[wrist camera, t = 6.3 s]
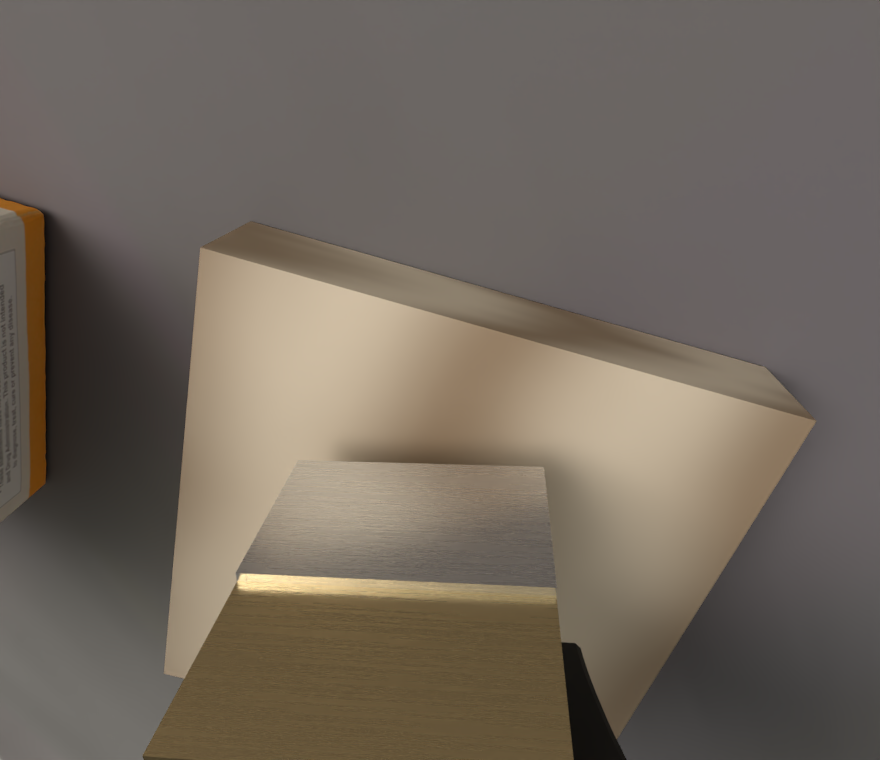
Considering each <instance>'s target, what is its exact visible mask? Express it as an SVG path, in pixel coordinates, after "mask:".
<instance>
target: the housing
mask: <svg viewBox="0 0 880 760" xmlns="http://www.w3.org/2000/svg"><path fill="white" fill-rule="evenodd" d="M236 578H237V582H236V584H235V586H234V588H233V590H232V592H231V594H230V595H229V597H228V599H227V601H226V603H225V605H224V606H223V608H222V610H221V612H220V614H219V616H218V618H217V619H216V621H215V623H214V625H213V627H212V629H211V631H210V632H209V634H208V636H207V638H206V640H205V642H204V643H203V645H202V647H201V649H200V651H199V653H198V655H197V656H196V658H195V660H194V662H193V664H192V666H191V667H190V669H189V671H188V673H187V675H186V677H185V679H184V680H183V682H182V684H181V686H180V688H179V690H178V691H177V693H176V695H175V697H174V699H173V701H172V703H171V704H170V706H169V708H168V710H167V712H166V714H165V715H164V717H163V719H162V721H161V723H160V725H159V727H158V728H157V730H156V732H155V734H154V736H153V738H152V739H151V741H150V743H149V745H148V747H147V749H146V751H145V752H144V754H143V758H144V760H574V758H573V749H572V739H571V730H570V720H569V711H568V701H567V692H566V682H565V673H564V663H563V654H562V644H561V635H560V625H559V615H558V606H557V596H556V595H557V583H556V574H555V565H554V555H553V546H552V537H551V527H550V518H549V509H548V500H547V490H546V481H545V472H544V467H534V466H496V465H459V464H421V463H383V462H346V461H308V460H298V461H297V463H296V465H295V467H294V468H293V470H292V472H291V474H290V476H289V477H288V479H287V481H286V483H285V485H284V487H283V488H282V490H281V492H280V494H279V496H278V497H277V499H276V501H275V503H274V505H273V506H272V508H271V510H270V512H269V514H268V515H267V517H266V519H265V521H264V523H263V524H262V526H261V528H260V530H259V532H258V533H257V535H256V537H255V539H254V541H253V542H252V544H251V546H250V548H249V550H248V551H247V553H246V555H245V557H244V559H243V561H242V562H241V564H240V566H239V568H238V570H237V571H236Z"/></svg>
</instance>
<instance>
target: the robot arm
mask: <svg viewBox="0 0 880 760" xmlns="http://www.w3.org/2000/svg"><path fill="white" fill-rule="evenodd" d="M561 644H562V654H563V663H564V673H565V682H566V692H567V701H568V711H569V720H570V730H571V739H572V749H573V758H574V760H626V758H625V756H624V754H623V752H622V750H621V748H620V746H619V743H618V741H617V739H616V737H615V735H614V733H613V731H612V729H611V726H610V724H609V722H608V720H607V718H606V715H605V713H604V710H603V708H602V706H601V703H600V701H599V699H598V696H597V694H596V691H595V689H594V686H593V684H592V681H591V678H590V675H589V673H588V670H587V667H586V664H585V661H584V658H583V655H582V651H581V648H580V647H579V646H578V645H577V644H576V643H567V642H561Z"/></svg>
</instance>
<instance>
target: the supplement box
mask: <svg viewBox="0 0 880 760" xmlns="http://www.w3.org/2000/svg"><path fill="white" fill-rule="evenodd" d="M44 224H45V223H44V215H43V213H42V212H40V211H39V210H37V209H36V208H32V207H28V206H24V205H22V204H19V203H16V202H13V201H6V200H4V199H1V198H0V523H1V522H2V521H3V520H4V519H5V518H6V517H7V516H9V515H10V514H11V513H12V512H13V511H15V510H16V509H17V508H18V507H19V506H20V505H21V504H23V503H24V502H25V501H26V500H27V499H28V498H29V497H30V496H32V495H33V494H34V493H35V492H36V491H37V490H39V489H40V488H41V487H42V486H43V485H44V484H45V483H46V465H47V464H46V458H45V454H46V438H45V433H46V420H45V411H46V391H45V379H46V376H45V359H46V348H45V287H44V284H45V252H44V249H45V238H44Z"/></svg>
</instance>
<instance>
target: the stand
mask: <svg viewBox="0 0 880 760" xmlns="http://www.w3.org/2000/svg"><path fill="white" fill-rule="evenodd" d="M815 423H816V420H815V419H814V418H813V417H812V416H811V415H810V414H809V413H808V412H807V411H806V410H805V409H804V407H803V406H802V405H801V404H800V403H799V402H798V401H797V400H796V399H795V398H794V397H793V396H792V395H791V394H790V393H789V392H788V391H787V390H786V389H785V387H784V386H783V385H782V384H781V383H780V382H779V381H778V380H777V379H776V378H775V377H774V376H773V375H772V374H771V373H770V372H769V371H768V370H767V368H766V367H763V366H759V365H756V364H752V363H749V362H745V361H742V360H738V359H734V358H731V357H727V356H724V355H720V354H717V353H713V352H710V351H706V350H703V349H699V348H696V347H692V346H689V345H685V344H682V343H678V342H675V341H671V340H667V339H664V338H660V337H657V336H653V335H650V334H646V333H643V332H639V331H636V330H632V329H629V328H625V327H622V326H618V325H615V324H611V323H608V322H604V321H600V320H597V319H593V318H590V317H586V316H583V315H579V314H576V313H572V312H569V311H565V310H562V309H558V308H555V307H551V306H548V305H544V304H541V303H537V302H533V301H530V300H526V299H523V298H519V297H516V296H512V295H509V294H505V293H502V292H498V291H495V290H491V289H488V288H484V287H481V286H477V285H474V284H470V283H466V282H463V281H459V280H456V279H452V278H449V277H445V276H442V275H438V274H435V273H431V272H428V271H424V270H421V269H417V268H414V267H410V266H407V265H403V264H399V263H396V262H392V261H389V260H385V259H382V258H378V257H375V256H371V255H368V254H364V253H361V252H357V251H354V250H350V249H347V248H343V247H340V246H336V245H332V244H329V243H325V242H322V241H318V240H315V239H311V238H308V237H304V236H301V235H297V234H294V233H290V232H287V231H283V230H280V229H276V228H273V227H269V226H265V225H262V224H258V223H255V222H251V221H250V222H249V223H247V224H245V225H243V226H241V227H239V228H237V229H235V230H233V231H231V232H229V233H227V234H226V235H224V236H222V237H220V238H218V239H216V240H214V241H212V242H210V243H208V244H206V245H204V246H203V247H201V248H200V258H199V270H198V281H197V293H196V305H195V317H194V328H193V340H192V352H191V363H190V375H189V387H188V398H187V410H186V422H185V433H184V445H183V457H182V468H181V480H180V492H179V503H178V515H177V527H176V539H175V550H174V562H173V574H172V585H171V597H170V609H169V620H168V632H167V644H166V655H165V667H164V674H168V675H172V676H176V677H179V678H183V679H185V677H186V675H187V673H188V671H189V669H190V667H191V666H192V664H193V662H194V660H195V658H196V656H197V655H198V653H199V651H200V649H201V647H202V645H203V643H204V642H205V640H206V638H207V636H208V634H209V632H210V631H211V629H212V627H213V625H214V623H215V621H216V619H217V618H218V616H219V614H220V612H221V610H222V608H223V606H224V605H225V603H226V601H227V599H228V597H229V595H230V594H231V592H232V590H233V588H234V586H235V584H236V582H237V578H236V571H237V570H238V568H239V566H240V564H241V562H242V561H243V559H244V557H245V555H246V553H247V551H248V550H249V548H250V546H251V544H252V542H253V541H254V539H255V537H256V535H257V533H258V532H259V530H260V528H261V526H262V524H263V523H264V521H265V519H266V517H267V515H268V514H269V512H270V510H271V508H272V506H273V505H274V503H275V501H276V499H277V497H278V496H279V494H280V492H281V490H282V488H283V487H284V485H285V483H286V481H287V479H288V477H289V476H290V474H291V472H292V470H293V468H294V467H295V465H296V463H297V461H298V460H308V461H346V462H383V463H421V464H459V465H496V466H534V467H544V472H545V481H546V490H547V500H548V509H549V518H550V527H551V537H552V546H553V555H554V565H555V574H556V583H557V595H556V596H557V606H558V615H559V625H560V635H561V642H567V643H576V644H577V645H578V646H579V647H580V648H581V651H582V655H583V658H584V661H585V664H586V667H587V670H588V673H589V675H590V678H591V681H592V684H593V686H594V689H595V691H596V694H597V696H598V699H599V701H600V703H601V706H602V708H603V710H604V713H605V715H606V718H607V720H608V722H609V724H610V726H611V729H612V731H613V733H614V735H615V737H616V739H617V738H618V737H619V735H620V734H621V732H622V730H623V729H624V727H625V726H626V724H627V722H628V721H629V719H630V718H631V716H632V714H633V713H634V711H635V710H636V708H637V706H638V705H639V703H640V702H641V700H642V698H643V697H644V695H645V694H646V692H647V691H648V689H649V687H650V686H651V684H652V683H653V681H654V679H655V678H656V676H657V675H658V673H659V671H660V670H661V668H662V667H663V665H664V663H665V662H666V660H667V659H668V657H669V655H670V654H671V652H672V651H673V649H674V647H675V646H676V644H677V643H678V641H679V639H680V638H681V636H682V635H683V633H684V631H685V630H686V628H687V627H688V625H689V624H690V622H691V620H692V619H693V617H694V616H695V614H696V612H697V611H698V609H699V608H700V606H701V604H702V603H703V601H704V600H705V598H706V596H707V595H708V593H709V592H710V590H711V588H712V587H713V585H714V584H715V582H716V580H717V579H718V577H719V576H720V574H721V572H722V571H723V569H724V568H725V566H726V564H727V563H728V561H729V560H730V558H731V557H732V555H733V553H734V552H735V550H736V549H737V547H738V545H739V544H740V542H741V541H742V539H743V537H744V536H745V534H746V533H747V531H748V529H749V528H750V526H751V525H752V523H753V521H754V520H755V518H756V517H757V515H758V513H759V512H760V510H761V509H762V507H763V505H764V504H765V502H766V501H767V499H768V497H769V496H770V494H771V493H772V491H773V490H774V488H775V486H776V485H777V483H778V482H779V480H780V478H781V477H782V475H783V474H784V472H785V470H786V469H787V467H788V466H789V464H790V462H791V461H792V459H793V458H794V456H795V454H796V453H797V451H798V450H799V448H800V446H801V445H802V443H803V442H804V440H805V438H806V437H807V435H808V434H809V432H810V430H811V429H812V427H813V426H814V424H815Z"/></svg>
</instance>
